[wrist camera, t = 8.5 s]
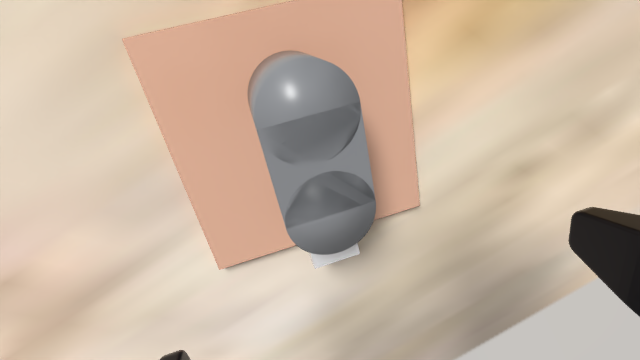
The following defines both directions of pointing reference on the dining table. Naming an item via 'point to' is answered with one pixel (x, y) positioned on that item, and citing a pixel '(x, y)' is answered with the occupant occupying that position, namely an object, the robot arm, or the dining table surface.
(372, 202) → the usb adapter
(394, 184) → the plate
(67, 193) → the dining table surface
